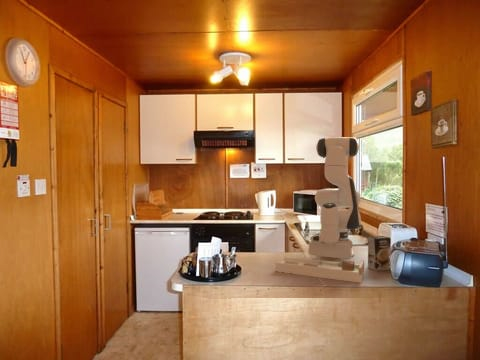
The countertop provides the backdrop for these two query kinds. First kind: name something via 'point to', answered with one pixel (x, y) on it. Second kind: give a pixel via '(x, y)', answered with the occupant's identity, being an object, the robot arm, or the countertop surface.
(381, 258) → the coffee box
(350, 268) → the walnut block
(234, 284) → the countertop surface
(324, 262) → the trap track
